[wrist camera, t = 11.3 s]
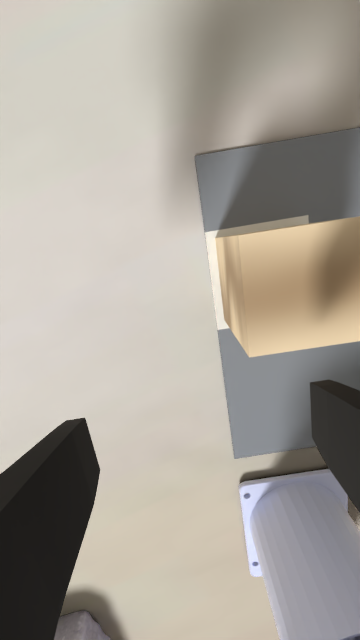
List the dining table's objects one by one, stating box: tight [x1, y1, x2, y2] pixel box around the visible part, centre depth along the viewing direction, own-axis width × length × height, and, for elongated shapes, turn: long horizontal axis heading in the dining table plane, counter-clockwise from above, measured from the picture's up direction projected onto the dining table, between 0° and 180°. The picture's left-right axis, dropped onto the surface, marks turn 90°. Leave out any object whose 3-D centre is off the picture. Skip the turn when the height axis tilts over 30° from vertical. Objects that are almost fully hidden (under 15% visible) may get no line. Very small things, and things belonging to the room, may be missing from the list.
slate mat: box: [195, 127, 360, 459], centre depth 18 cm, size 20×17×1 cm
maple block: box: [215, 216, 360, 357], centre depth 14 cm, size 5×5×6 cm
